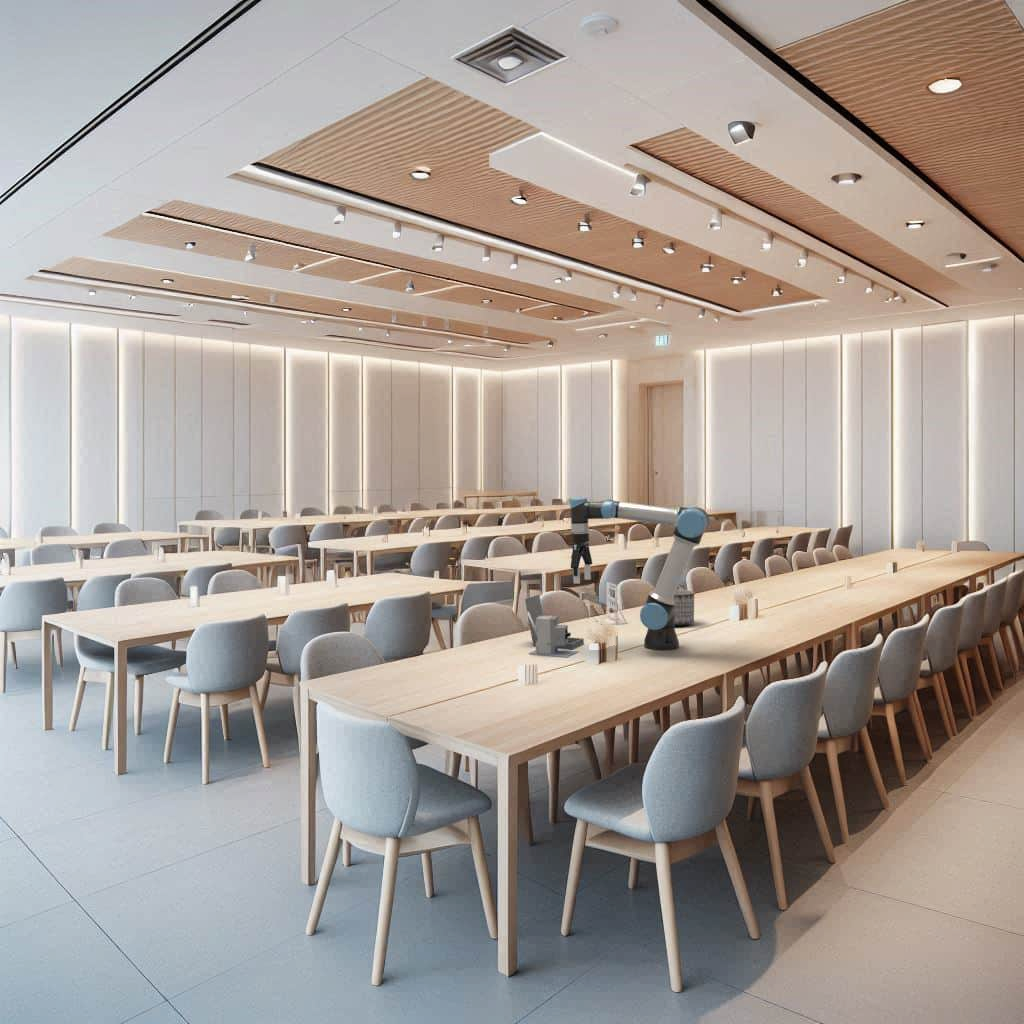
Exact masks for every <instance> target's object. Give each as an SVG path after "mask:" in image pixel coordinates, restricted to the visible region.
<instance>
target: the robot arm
mask: <svg viewBox="0 0 1024 1024" xmlns="http://www.w3.org/2000/svg"><path fill="white" fill-rule="evenodd" d="M569 509H570V528H571V533H572V534H571V542H572V543H575V544H574V545H572V552H571V560H570V569H572V578H573V579H572V580H573V584H577V585H578V584H581V573H580V568H579V567H580V562H581V558H582V561H583V563H584V564H583V573H584V577H583V578H584V580H586V581H587V580H592V575H591V571H592V570H591V565H593V560H592V555H591V550H590V544H589V541H590V534H589V531H590V528H589V527H590V526H589V520H594V519H595V520H604V519H605V520H609V519H620V520H627V521H628V520H629V521H634V522H642V523H643V522H644V523H650V524H655V525H656V524H657V525H658V524H659V525H662V526H663V525H664V526H670V527H674V529H673V533H672V535H673V538H674V539H673V541H672V546H671V548H670V550H669V553H668V555H667V557H666V560H665V563H664V566H663V568H662V570H661V573H660V574H659V577H658V580H657V582H656V585H655V588H654V589H653V591H650V592H649V593H648V595H647V599H646V600H645V603H644V604H643V606H642V607H641V609H640V612H639V619H640V622H641V623H642V625H643V626H644V627H645V628H647V631H646V633H645V638H644V642H643V646H644V647H645V648H647V649H651V650H662V651H665V650H675V649H678V648H679V646H680V641H679V638H678V635H677V632H676V627H675V606H674V605H675V601H674V595H675V593H676V590H678V589H679V585H680V583H681V580H682V578H683V575H684V573H685V570H686V568H687V565H688V563H689V560H690V558H691V555H692V553H693V551H694V548H695V547H696V546H699V545H700V543H701V541H702V538H703V536H704V533H705V532H706V530H707V529H708V528H709V525H710V517H709V514H708V512H707V511H706V510H704V509H703V508H700V507H698V506H696V507H695V506H694V507H685V506H684V507H683V506H678V507H677V508H674V507H673V508H672V507H665V506H656V505H650V504H642V503H635V502H634V503H633V502H625V501H617V500H613V499H605V500H601V501H589V500H588V498H587V497H572V498H571V499H570V508H569Z"/></svg>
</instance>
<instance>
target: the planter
mask: <svg viewBox="0 0 1024 1024" xmlns="http://www.w3.org/2000/svg"><path fill="white" fill-rule="evenodd" d="M674 601H675V605H674V606H675V628H676V627H677V628H678V627H680V628H681V627H685V626H686V625H692V624H694V621H695V591H693V590H690V589H689V590H687V589H677V590H676V593H675V595H674Z"/></svg>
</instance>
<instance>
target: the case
mask: <svg viewBox="0 0 1024 1024" xmlns="http://www.w3.org/2000/svg"><path fill="white" fill-rule="evenodd" d="M524 601H525V607H526V615H527V617H528V624H529V629H530V635H531V640H532V646H533V647H536V642H537V641H538V629H536V628H535V622H536V618H537V617H539V616H544V614H543V608H542V602H541V596H540V594H535V595H532V596H530V597H526V598H524ZM584 642H585V639H584V638H580V637H571V636H570V637H568V642H567V643H566V645H565V646H558V649H559V650H570V651H574V649H577V648H579V647H581V646H582V645H584V644H585V643H584Z"/></svg>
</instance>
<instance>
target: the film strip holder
mask: <svg viewBox="0 0 1024 1024" xmlns="http://www.w3.org/2000/svg"><path fill="white" fill-rule="evenodd" d="M605 588H606V589H605V590H606V592H605V593H606V595H605V596H606V600H605V601H606V603H605V604H606V620H607V621H609V620H610V621H609V622H610V624H612V625H611V626H613V625H617V626H618V625H626V624H629V622H628V621H626V618H625V616H624V614H623V611H622V610H621V609H620V606H619V603H618V585H617V584H614V583H613V582H609V581H607V582H606V587H605ZM610 590H614V594H615V597H613V596H611V593H610ZM611 609H612V611H613V613H614V615H615V617H614V616H612V615H611V613H610V611H611ZM618 611H619V613H620V615H621V617H622V620H623V621H620V620H621V619H620V618H619V617H618Z"/></svg>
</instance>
